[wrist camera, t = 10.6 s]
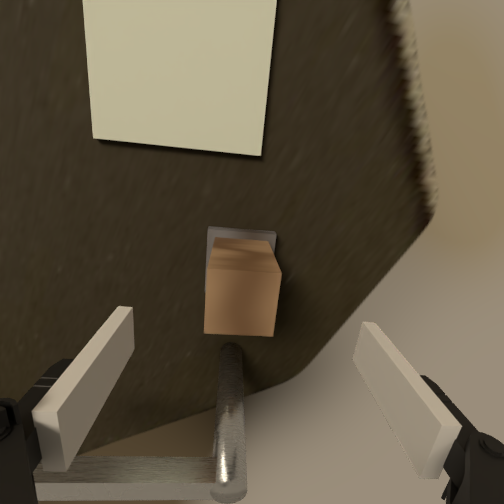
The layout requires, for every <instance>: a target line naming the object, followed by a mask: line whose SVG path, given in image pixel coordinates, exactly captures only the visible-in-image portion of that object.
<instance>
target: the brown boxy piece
mask: <svg viewBox="0 0 504 504" xmlns="http://www.w3.org/2000/svg"><path fill="white" fill-rule="evenodd" d="M275 243H276V233H275V232H274V231H261V230H249V229H236V228H224V227H212V226H209V227H208V236H207V256H206V277H205V292H206V301H205V322H204V333H208V334H229V335H251V336H273V332H274V325H275V318H276V311H277V304H278V297H279V290H280V283H281V276H282V273H281V270H280V268H279V266H278V263H277V261H276V258H275V256H274V250H275Z"/></svg>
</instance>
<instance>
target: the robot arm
mask: <svg viewBox="0 0 504 504" xmlns="http://www.w3.org/2000/svg"><path fill="white" fill-rule="evenodd" d="M133 351H134V328H133V307H122V306H118V307H117V308H116V310H115V311H114V312H113V313H112V315H111V316H110V317H109V318H108V319H107V321H106V322H105V323H104V324H103V325H102V327H101V328H100V329H99V330H98V331H97V333H96V334H95V335H94V336H93V338H92V339H91V340H90V341H89V342H88V344H87V345H86V346H85V347H84V348H83V350H82V351H81V352H80V353H79V354H78V356H77V357H76V358H75V359H62V360H60V361H59V362H57V363H56V364H54V365H53V366H51V367H50V368H49V369H48V370H47V371H46V372H45V373H44V374H43V376H42V377H41V379H39V380H38V381H37V382H36V383H35V384H34V387H32V388H31V389H30V390H29V391H28V392H27V393H26V394H25V395H24V396H23V397H22V399H21V400H20V401H19V402H18V403H17V402H16V400H14V399H11V398H0V504H38V500H37V494H36V487H35V481H34V476H33V472H34V470H35V469H36V467H37V466H38V464H39V463H40V461H42V467H43V471H47V472H67V470H68V468H69V466H70V464H71V463H72V461H73V459H74V457H75V455H76V453H77V452H78V450H79V448H80V446H81V444H82V443H83V441H84V439H85V437H86V435H87V434H88V432H89V430H90V428H91V426H92V425H93V423H94V421H95V419H96V417H97V416H98V414H99V412H100V410H101V408H102V407H103V405H104V403H105V401H106V399H107V398H108V396H109V394H110V392H111V390H112V388H113V387H114V385H115V383H116V381H117V379H118V378H119V376H120V374H121V372H122V370H123V369H124V367H125V365H126V363H127V361H128V360H129V358H130V356H131V354H132V352H133ZM353 362H354V364H355V366H356V368H357V369H358V371H359V373H360V375H361V376H362V378H363V379H364V382H365V383H366V385H367V387H368V389H369V390H370V392H371V394H372V396H373V397H374V399H375V401H376V403H377V404H378V406H379V408H380V410H381V411H382V413H383V415H384V417H385V418H386V420H387V422H388V424H389V426H390V427H391V429H392V431H393V433H394V434H395V436H396V438H397V440H398V441H399V443H400V445H401V447H402V449H403V450H404V452H405V454H406V455H407V457H408V459H409V461H410V462H411V464H412V466H413V468H414V470H415V471H416V473H417V475H418V476H419V478H420V479H438V478H439V476H440V474H441V471H442V469H443V468H444V469H445V471H446V472H447V474H448V475H449V477H450V480H449V482H448V484H447V486H446V488H445V490H444V492H443V495H442V497H441V498H442V499H443V500H445V498H446V504H504V444H502V443H501V442H500V441H499V440H497V439H495V438H494V437H492V436H490V435H487V434H485V433H482V432H478V430H476V428H475V427H474V426H473V425H472V424H471V422H470V421H469V420H468V419H467V418H466V417H465V416H464V415H463V414H462V412H461V411H460V410H459V409H458V408H457V407H456V406H455V404H454V403H452V401H451V400H450V399H449V398H448V396H447V395H445V393H444V392H443V391H442V390H441V389H440V387H439V386H438V385H437V384H436V383H434V382H433V381H432V380H430V379H429V378H428V377H426V376H423V375H419V374H418V373H417V372H416V371H415V370H414V368H413V367H412V366H411V365H410V364H409V363H408V361H407V360H406V359H405V358H404V357H403V355H402V354H401V353H400V352H399V351H398V349H397V348H396V347H395V346H394V345H393V343H392V342H391V341H390V340H389V339H388V337H387V336H386V335H385V334H384V333H383V331H382V330H380V328H379V327H378V325H377V324H376V323H375V322H362V325H361V329H360V333H359V337H358V341H357V344H356V348H355V352H354V356H353ZM446 496H447V497H446Z"/></svg>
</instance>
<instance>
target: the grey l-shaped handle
mask: <svg viewBox="0 0 504 504" xmlns="http://www.w3.org/2000/svg"><path fill="white" fill-rule="evenodd" d="M214 434H215V435H214V446H213V457H110V456H108V457H107V456H75V457H74V459H73V461H72V463H71V464H70V466H69V468H68V470H67V472H47V471H43V467H42V461H40V463H39V464H38V466H37V467H36V469H35V470H34V472H33V476H34V481H35V487H36V494H37V500H38V501H61V500H62V501H66V500H67V501H68V500H215V501H217V502H220V503H225V504H228V503H235V502H237V501H240V500H241V499H243V498H244V497H245V495H246V493H247V475H246V448H245V421H244V394H243V367H242V349H241V347H240V346H239V345H238V344H237V343H233V342H230V343H226V344H225V345H223V346H222V348H221V352H220V365H219V379H218V392H217V406H216V420H215V433H214Z"/></svg>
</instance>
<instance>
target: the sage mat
mask: <svg viewBox="0 0 504 504" xmlns="http://www.w3.org/2000/svg"><path fill="white" fill-rule="evenodd" d="M276 3H277V0H83V10H84V24H85V37H86V50H87V63H88V77H89V90H90V103H91V116H92V129H93V138H96V139H105V140H114V141H124V142H133V143H142V144H152V145H161V146H171V147H180V148H189V149H199V150H208V151H217V152H227V153H236V154H246V155H255V156H261V148H262V139H263V129H264V119H265V110H266V100H267V90H268V81H269V71H270V61H271V51H272V42H273V32H274V22H275V13H276Z"/></svg>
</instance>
